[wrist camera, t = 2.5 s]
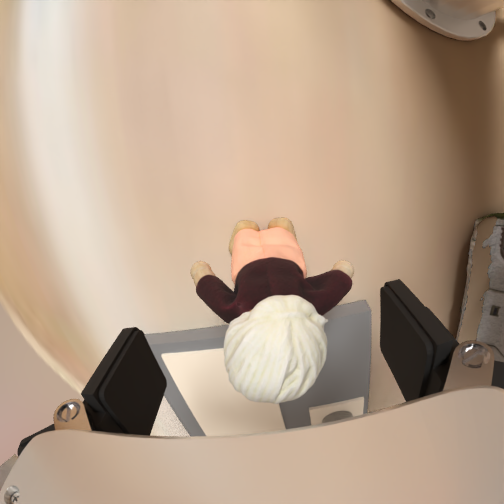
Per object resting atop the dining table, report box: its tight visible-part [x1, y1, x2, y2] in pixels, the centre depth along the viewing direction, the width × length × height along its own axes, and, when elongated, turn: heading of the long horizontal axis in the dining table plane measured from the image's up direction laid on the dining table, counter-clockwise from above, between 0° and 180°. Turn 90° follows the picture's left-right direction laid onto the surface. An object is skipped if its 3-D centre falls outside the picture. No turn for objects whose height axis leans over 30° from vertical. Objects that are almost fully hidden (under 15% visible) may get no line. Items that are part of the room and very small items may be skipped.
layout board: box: [145, 300, 371, 437], centre depth 24 cm, size 18×16×2 cm
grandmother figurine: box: [190, 217, 354, 404], centre depth 13 cm, size 8×4×13 cm, turn 104°
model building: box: [456, 213, 504, 362], centre depth 20 cm, size 7×7×25 cm
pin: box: [322, 411, 353, 423], centre depth 21 cm, size 3×3×6 cm
